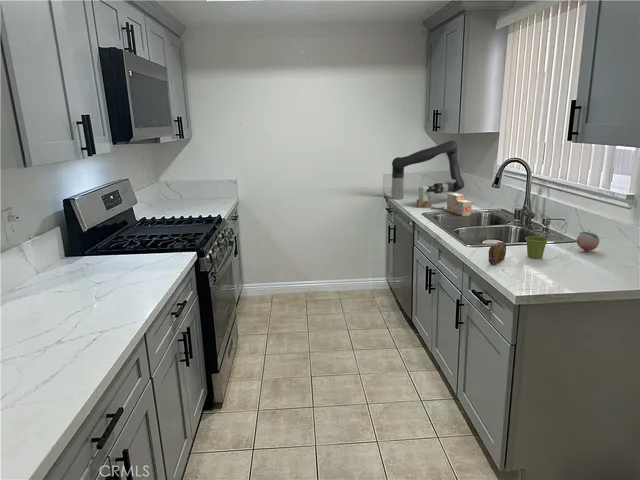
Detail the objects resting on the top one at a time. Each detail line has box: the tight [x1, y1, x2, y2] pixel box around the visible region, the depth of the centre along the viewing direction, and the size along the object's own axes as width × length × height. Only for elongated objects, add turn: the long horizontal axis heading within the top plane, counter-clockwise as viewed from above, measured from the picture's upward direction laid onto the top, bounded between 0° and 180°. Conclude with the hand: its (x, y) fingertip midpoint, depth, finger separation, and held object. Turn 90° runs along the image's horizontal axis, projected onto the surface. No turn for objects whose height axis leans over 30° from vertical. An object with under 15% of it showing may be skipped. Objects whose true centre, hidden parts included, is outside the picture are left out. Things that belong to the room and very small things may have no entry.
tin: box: [488, 241, 507, 265], centre depth 195 cm, size 15×3×8 cm, turn 138°
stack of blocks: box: [446, 192, 473, 217], centre depth 298 cm, size 21×6×12 cm, turn 13°
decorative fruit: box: [576, 230, 600, 252], centre depth 205 cm, size 9×8×10 cm
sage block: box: [418, 185, 430, 201], centre depth 321 cm, size 5×5×10 cm
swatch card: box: [430, 205, 446, 210], centre depth 317 cm, size 9×7×1 cm
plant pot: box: [524, 235, 549, 260], centre depth 199 cm, size 9×9×9 cm
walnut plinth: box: [416, 198, 432, 209], centre depth 323 cm, size 9×9×5 cm
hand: (423, 189), depth 320 cm, fingers open, 8 cm apart
